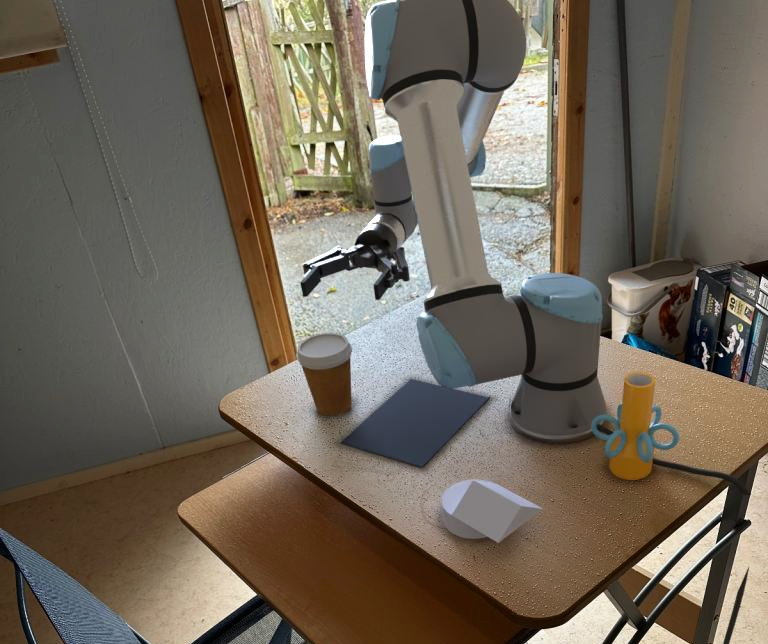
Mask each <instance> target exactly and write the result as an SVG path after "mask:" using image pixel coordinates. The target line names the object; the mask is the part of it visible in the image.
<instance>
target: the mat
mask: <svg viewBox="0 0 768 644" xmlns="http://www.w3.org/2000/svg"><path fill="white" fill-rule="evenodd" d="M489 400H490V397H489V396H485V395H481V394H477V393H472V392H468V391H465V390H460V389H457V388H453V389H448V388H445V387H443V386H441V385H440V384H435V383H430V382H426V381H421V380H418V379H414V378H410V379H409V380H408V381H406V382H405V384H403V385H402V386H401V387H400V388H399V389H398V390H396V392H394V393H393V394H392V395H391V396H390V397H389V398H388V399H387V400H386V401H384V403H382V404H381V405H380V406H379V407H378V408H376V409H375V410H374V411H373V412H372V413H371V414H370V415H369V416H367V418H365V419H364V420H363V421H362V422H361V423H360V424H359V425H358V426H357V427H355V428H354V429H353V430H352V431H351V432H350V433H349V434H347V435H346V436H345V437H344V438H343V439H341V440H340V442H339V444H341V445H344V446H347V447H351V448H353V449H356V450H360V451H364V452H367V453H370V454H373V455H377V456H381V457H383V458H387V459H391V460H394V461H397V462H400V463H404V464H407V465H410V466H413V467H417V468H420V469H423V468H424V467H425V466H426V465H427V464H428V463H429V462H430V461H431V460H432V459H433V458H434V457H435V456H436V455H437V454H438V453H439V451H441V450H442V449H443V447H444V446H446V444H447V443H448V442H449V441H450V440H452V438H453V437H454V436H455V435H456V434H457V433H458V432H459V431H460V430H461V429H462V428H463V427H464V425H466V424H467V422H469V420H471V418H473V416H474V415H475V414H476V413H477V412H478V411H479V410H480V409H481V408H482V407H483V406H484V405H485V404H486V403H487V402H488V401H489Z"/></svg>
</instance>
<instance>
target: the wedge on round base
mask: <svg viewBox="0 0 768 644" xmlns="http://www.w3.org/2000/svg"><path fill="white" fill-rule="evenodd" d="M441 509H442V520H443V521H442V522H443V525H444V527H445V529H447V531H448V532H450V533H451V534H453V535H455V536H457V537H459V538H463V539H468V540H477V539H484V538H485V539H486V538H489V539H491V540H492V541H494V542H496V543H498V544H499V543H500V542H502V541H503V540H505V538H507V537H508V536H510V535H511V534H512V533H513V532H515V531H516V530H518V529H519V528H520V527H521V526H523V525H524V524H525V523H527V522H528V521H529V520H531V519H532V518H533V517H535V516H536V515H537V514H539V513H540V512H541V511H543V510H544V508H543V507H541V506H539V505H538V504H535V503H533V502H531V501H529V500H528V499H525V498H524V497H522V496H520V495H518V494H516V493H514V492H512V491H510V490H509V489H507V488H505V487H503V486H501V485H499V484H497V483H495V482H493V481H490V480H486V479H480V478H479V479H478V478H472V479H466V480H465V479H464V480H461V481H458V482H456V483H454V484H452V485H451V486H449V487H447V489H445V491H444V492H443V494H442V497H441Z"/></svg>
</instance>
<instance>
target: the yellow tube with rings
mask: <svg viewBox="0 0 768 644" xmlns="http://www.w3.org/2000/svg"><path fill="white" fill-rule="evenodd" d="M655 386H656V378H655V376H653V374H650V373H647V372H640V371H636V372H631V373H629V374H627V375H626V376H624V378H623V390H622V401H621V402H620V403H619V404H618V405H617V410H616V417H617V418H616V417H615V416H613V415H609V414H606V415H599V416H597V417H595V418H594V419H593V421H592V423H591V429H592V432H593V433H594V436H595V437H596V438H598V439H600V440H603V441H605V445H604V455H605V456H606V457H607V458H609V465H608V467H609V470H610V472H611V473H612V474H613V475H614V476H615V477H617V478H619V479H623V480H627V481H636V480H637V481H638V480H642V479H644V478H646V477H648V476H649V475H650V474H651V472H652V469H653V464H652V462H653V458H654V456H655V455H654V454H655V449H658V450H660V451H668V450H671V449H673V448H675V447H676V446H677V445H678V444H679V440H680V434H679V432H678V430H677V429H676V428H675V427H674V426H672V425H671V424H668V423H660V421H661V418H662V409H661V406H658V405H653V404H654V397H655V396H654V395H655ZM653 413H655V416H654V419H653V421H652V422H651V420H652V414H653ZM601 420H606V421H608V422H610V423H612V425H613V426H614V431H613V433H612V434H611V435H607V434H605V433H603V432H601V431H598V430H597V423H598V422H599V421H601ZM658 430H665V431H667V432H669V433H670V434H671V435H672V441H671V442H668V443H665V444H664V443H663V444H662V443H660V442H657V441H656V440H655V438H654V434H655V432H656V431H658Z"/></svg>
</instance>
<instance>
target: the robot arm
mask: <svg viewBox="0 0 768 644" xmlns="http://www.w3.org/2000/svg"><path fill="white" fill-rule="evenodd" d="M364 29H365V30H364V61H365V64H364V65H365V77H366V87H367V91H368V94H369V97H370V98H371V99H372V100H376V101H380V100H382V105H383V111H384V114H385V115H386V116H388V118H390V119H392V120H394V121H395V122H396V123H397V126H398V130H399V135H386V136H381V137H378V138H376V139H374V140H373V141H371V142H370V143H369V145H368V159H369V160H368V163H369V166H368V168H369V169H368V170H369V172H370V180H371V188H372V194H373V205H374V206H373V207H374V213H375V216H374V217H373V219H372V220H370V222H369V223H368V224H367V225H366V226H365V227H364V229H363V230H362V231H361V232H360V233H359V234H358V236H357V238H356V239H355V242H354V245H353V246H352V247H349V249H343V247H342V245H336V246H335V247H333V248H332V249H330V250H329V251H327V252H325V253H323V254H320V255H318V256H316V257H314V258H312V259H310V260H307V261H305V262H304V263H302V268H303V269H302V270H303V274H304V275H303V278H302V280H300V282H299V283H300V288H301V289H300V290H301V293H302V297H303V298H308V297H309V296H310V294H311V293H312V292H313V291H314V290H315V289H316V287H317V286H318V285H319V284H320V283H321V282H322V280H321V279H323V278H326V277H329V276H331V275H334V274H337V273H340V272H343V271H345V270H346V271H347V272H351V271H353V270H357V269H363V268H366V269H374V270H376V271H377V272H379V273H381V274H380V276H379V277H378V278H377V279H376V280H375V282H374V283H373V292H374V300H375V301H380V300H381V299H382V297H383V296H384V295H385V293H386V292H387V290H388V289H391V288H393V287H394V286H395V284H396V283H399V282H400V280H401V281H403V282H409V281H410V280H411V279H410V270H409V265H408V261H407V259H406V251H405V247H404V246H403V245H404V244H405V243H406V242H407V240H408V239H409V238H410V237H411V236H412V235H413V234H414V232H415V230H416V228H417V226H418V230H419V235H420V239H421V246H422V250H423V254H424V255H423V256H424V260H425V265H426V269H427V275H428V278H429V279H428V280H429V285H430V290H429V292H428V293H427V295H426V296H425V298H424V300H423V306H424V311H423V312H421V314H419V315H418V316H417V318H416V330H417V334H418V340H419V344H420V348H421V351H422V353H423V357H424V359H425V362H426V365H427V367H428V369H429V370H430V373H431V375H432V376H433V378H434V380H435V381H436V382H437V383H438V385H439V386H443V387H445V388H448V389H458V388H459V389H460V388H464V387H469V388H471V387H475V386H476V385H481V384H485V383H490V382H494V381H500V380H504V379H509V378H512V377H517V376H521V377H520V379H519V381H518V384H517V387H516V389H515V393H514V395H513V398H511V393H510V395H509V404H508V412H509V420H510V425H511V427H512V428H513V429H514V431H515V432H516V433H518V434H519V435H521V437H524V438H525V439H528V440H530V441H533V442H536V443H541V444H545V445H547V444H549V445H568V444H574V443H575V444H576V443H578V442H582V441H585V440H588V439H590V438H592V437H594V436H595V435H594V433H593V432H592V429H591V423H592V421H593V419H594V418H595V417H597V416H599V415H607V413H608V412H607V411H608V409H607V403H606V400H605V397H604V393H603V390H602V388H601V384H600V381H599V377H598V371H599V357H600V345H601V344H600V343H601V332H602V321H603V319H604V318H603V317H604V315H603V305H602V304H603V301H602V300H603V298H602V294H601V291H600V289H599V288H598V287H597V285H596V284H594V283H593V282H592V281H590V280H588V279H587V278H584V277H580V276H577V275H573V274H569V273H562V272H544V273H543V272H542V273H536V274H533V275H530V276H529V277H528V278H526V279H524V280H522V282H521V286H520V287H519V293H518V294H513V295H508V296H505V295H504V292H503V287H502V282H500V281H499V280H497V279H495V278H494V277H493V276H491V274H489V269H488V263H487V259H486V254H485V248H484V243H483V238H482V234H481V228H480V223H479V217H478V211H477V207H476V202H475V201H476V200H475V197H474V192H473V187H472V181H471V178H474V177H479V176H480V175H482V174H483V173H484V172H485V169H486V162H487V153H486V147H485V143H484V139H485V137H486V134H487V132H488V130H489V127H490V125H491V123H492V120H493V118H494V116H495V113H496V112H497V110H498V107H499V104H500V102H501V100H502V97H503V95H504V93H505V91H507V90H508V89H510V88H511V87H512V86H513V85H514V84H515V83H516V81H517V79H518V78H519V75H520V73H521V71H522V69H523V66H524V63H525V60H526V55H527V36H526V30H525V26H524V23H523V21H522V18H521V16H520V14H519V12H517V10H516V9H515V6H514V5H513V4H512V3H511V2H510V1H509V0H384V1H380V2H376V3H374V4H373V5H372V6H371V7H370V8H369V9H368V12H367V15H366V20H365V28H364ZM392 260H393V261H394V263H393V262H392ZM350 263H351V264H350ZM511 399H512V401H511ZM606 422H607V420H601V421H599V422H598V423H597V430H598V431H599V432H600V433H602V434H604V435H611V434H612V433H613V432H614V431H613V430H611V429H610V428H607V427H605V425H606ZM652 465H655V466H658V467H662V468H667V469H671V470H677V471H682V472H686V473H689V474H692V475H699V476H705V477H709V478H716V479H721V480H724V481H727V482H729V483H731V484H732V485H734V486H735V487H737V489H739V490H740V491H741V493H742V494H743V495H745V496H751V495H752V493H751V491H750V489H749V488H748V486H746V485H745V484H744V483H743V482H742V481H741V480H740V479H738V478H736V477H734V476H733V475H731V474H728V473H726V472H722V471H717V470H711V469H704V468H698V467H693V466H689V465H685V464H681V463H677V462H672V461H667V460H662V459H658V458H656V457H653V462H652ZM749 570H750V566H748V567H747V569H746V572H745V574H744V576H743V579H742V581H741V583H740V585H739V588H738V590H737V592H736V595H735V599H734V603H733V607H732V610H731V613H730V619H729V622H728V624H727V629H726V632H725V635H724V638H723V642H722V644H730V643H731V639H732V636H733V632H734V630H735V626H736V622H737V618H738V615H739V612H740V608H741V605H742V601H743V597H744V594H745V591H746V590H745V589H746V584H747V580H748V575H749Z"/></svg>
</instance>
